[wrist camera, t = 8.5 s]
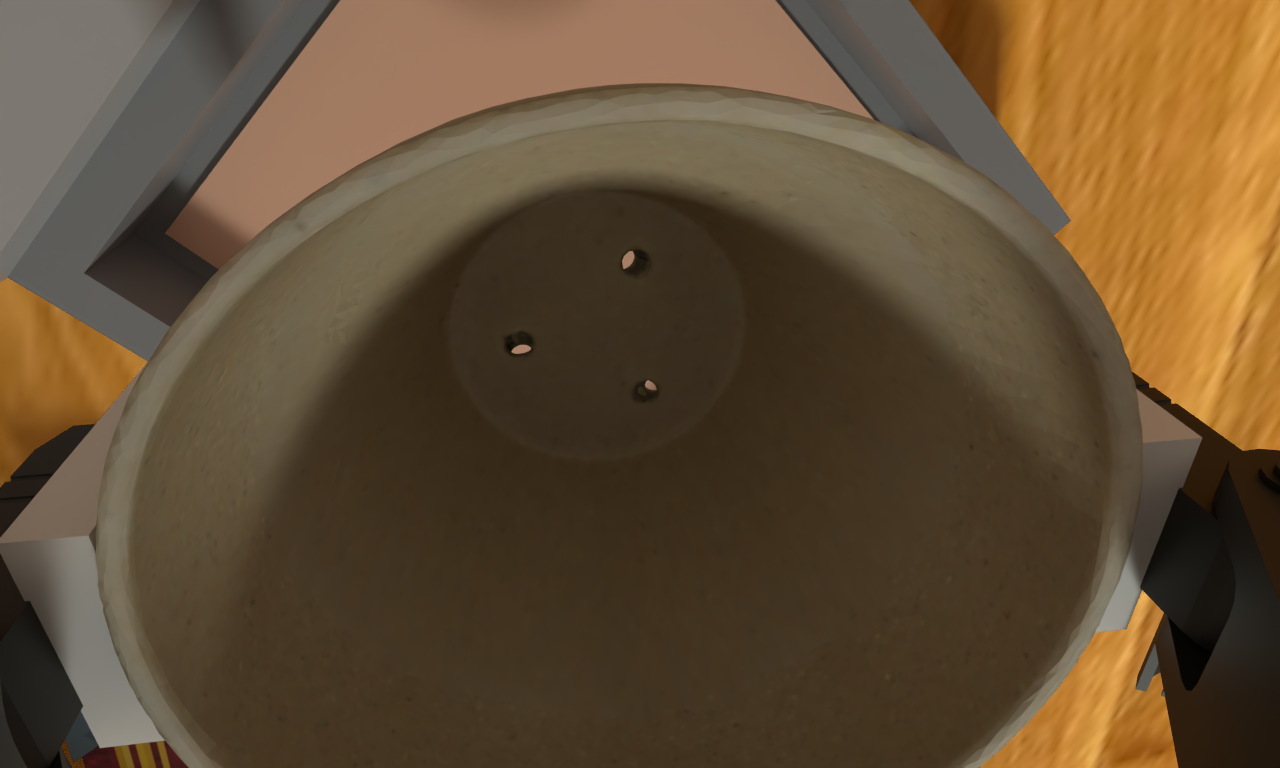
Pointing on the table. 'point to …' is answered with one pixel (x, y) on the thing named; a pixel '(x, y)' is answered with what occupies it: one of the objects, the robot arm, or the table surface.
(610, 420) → the flower pot
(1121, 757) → the table surface
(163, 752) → the decorative book
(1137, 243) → the table surface
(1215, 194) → the table surface
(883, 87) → the grey open tray
